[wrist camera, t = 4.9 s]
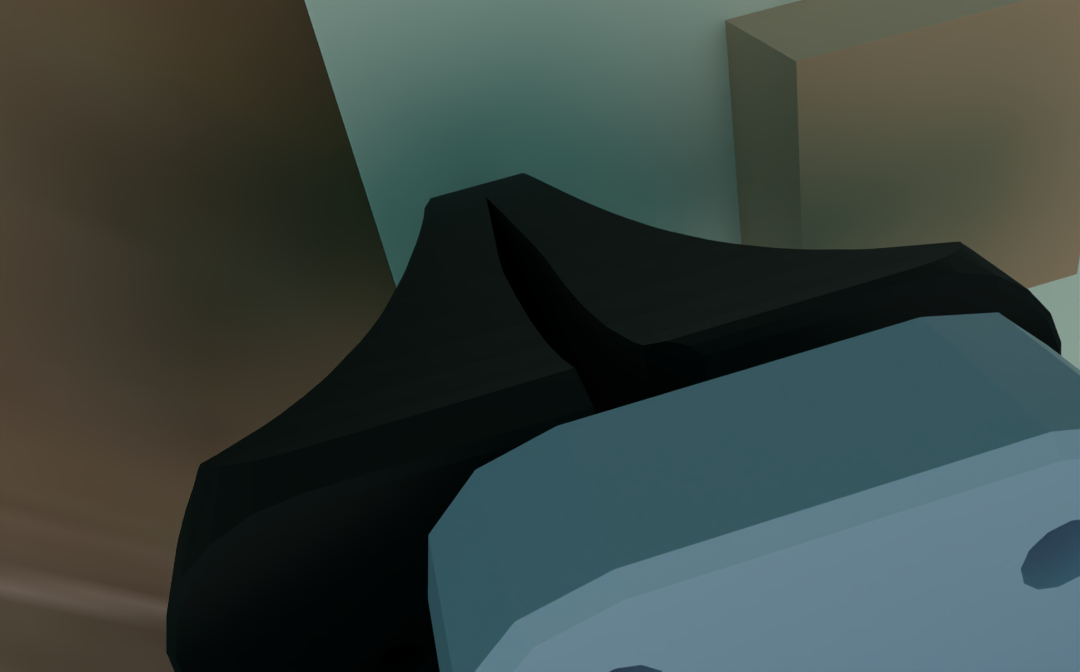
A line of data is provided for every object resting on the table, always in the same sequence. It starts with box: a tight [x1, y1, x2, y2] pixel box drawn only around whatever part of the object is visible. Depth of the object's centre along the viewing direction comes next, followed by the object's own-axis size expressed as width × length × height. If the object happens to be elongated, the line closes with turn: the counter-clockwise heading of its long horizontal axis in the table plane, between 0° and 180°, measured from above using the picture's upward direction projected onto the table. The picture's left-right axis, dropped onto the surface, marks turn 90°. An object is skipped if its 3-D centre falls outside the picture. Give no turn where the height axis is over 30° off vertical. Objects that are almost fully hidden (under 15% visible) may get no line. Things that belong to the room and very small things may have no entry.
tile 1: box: [725, 0, 1080, 289], centre depth 12 cm, size 4×4×2 cm
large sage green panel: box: [305, 0, 1080, 370], centre depth 14 cm, size 14×16×3 cm
